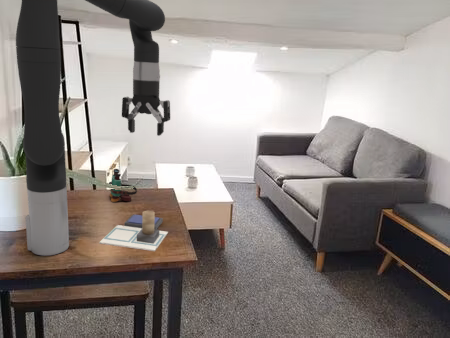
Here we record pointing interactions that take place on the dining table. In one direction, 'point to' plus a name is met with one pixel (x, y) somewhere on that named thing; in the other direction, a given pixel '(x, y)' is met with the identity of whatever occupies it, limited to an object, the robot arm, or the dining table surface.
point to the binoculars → (116, 193)
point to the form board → (130, 238)
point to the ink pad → (137, 221)
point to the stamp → (148, 228)
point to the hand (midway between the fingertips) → (145, 133)
